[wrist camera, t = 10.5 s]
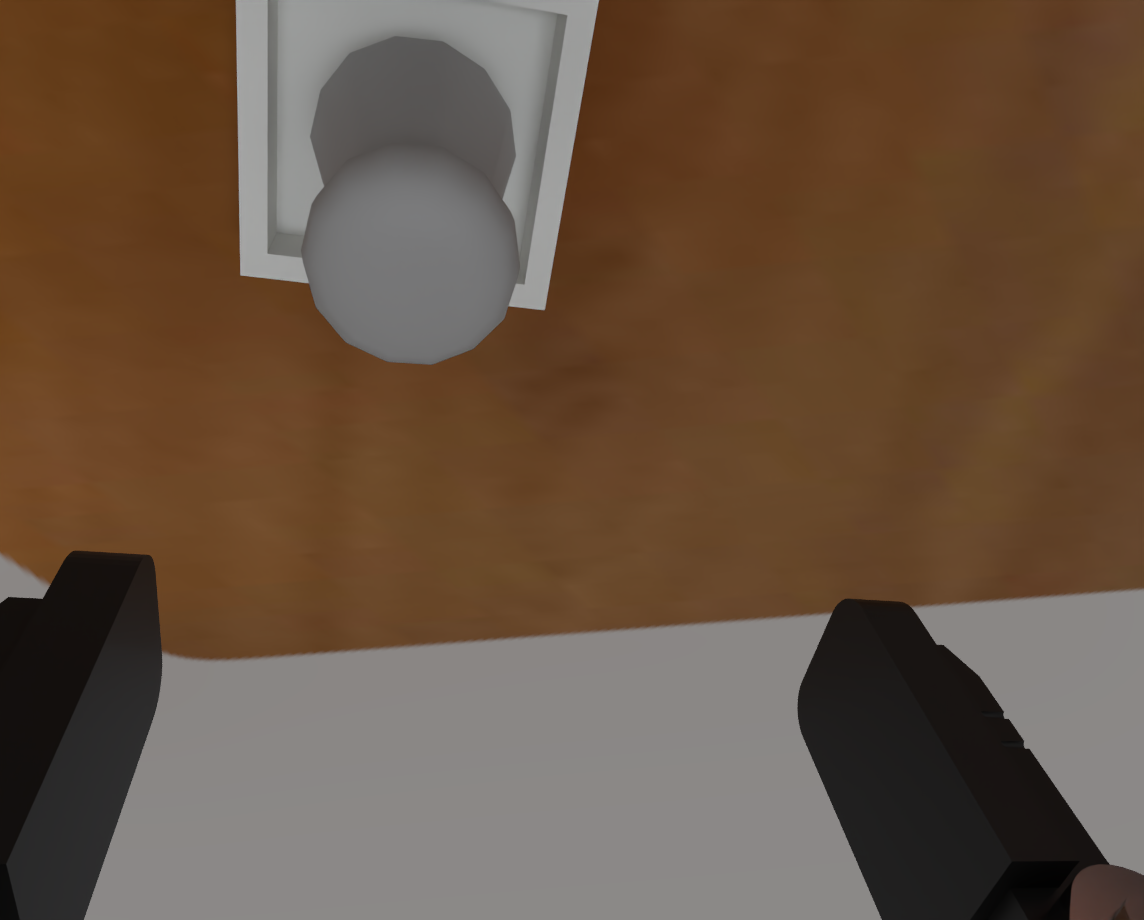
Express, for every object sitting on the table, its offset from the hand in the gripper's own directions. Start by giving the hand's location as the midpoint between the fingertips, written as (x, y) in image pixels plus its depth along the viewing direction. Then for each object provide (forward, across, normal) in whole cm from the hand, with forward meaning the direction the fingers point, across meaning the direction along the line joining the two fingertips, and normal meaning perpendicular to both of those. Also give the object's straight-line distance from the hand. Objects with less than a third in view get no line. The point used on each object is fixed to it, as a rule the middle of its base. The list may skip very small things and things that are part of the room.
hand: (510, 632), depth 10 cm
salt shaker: (+22, +2, -1) cm, 22 cm away
